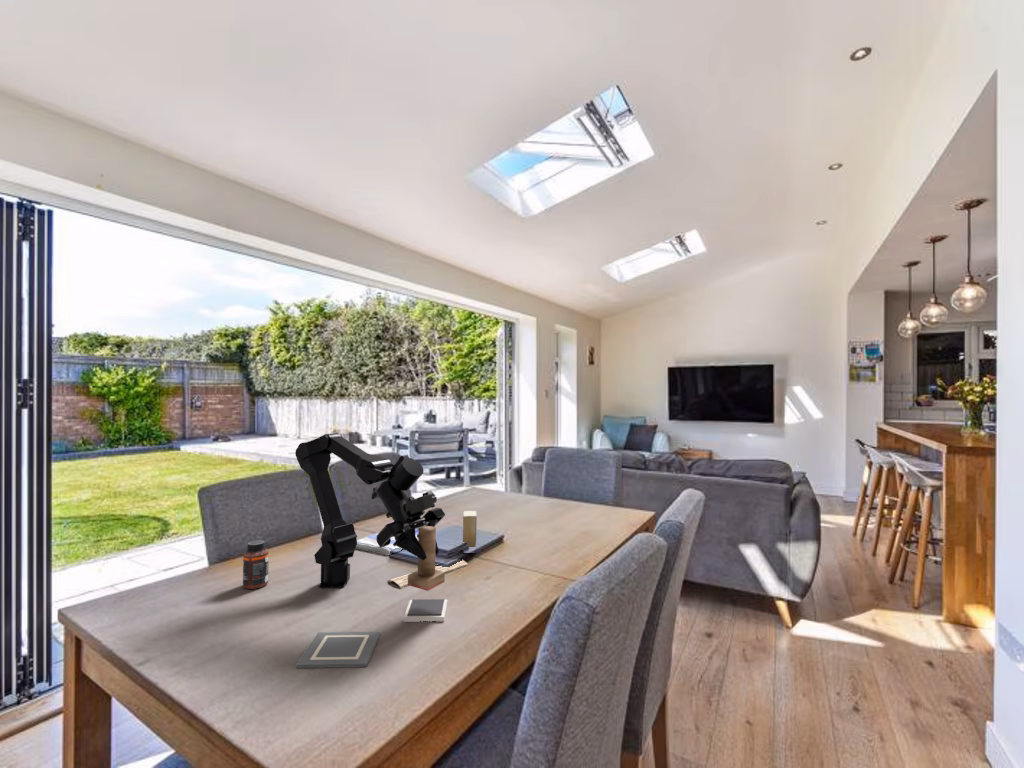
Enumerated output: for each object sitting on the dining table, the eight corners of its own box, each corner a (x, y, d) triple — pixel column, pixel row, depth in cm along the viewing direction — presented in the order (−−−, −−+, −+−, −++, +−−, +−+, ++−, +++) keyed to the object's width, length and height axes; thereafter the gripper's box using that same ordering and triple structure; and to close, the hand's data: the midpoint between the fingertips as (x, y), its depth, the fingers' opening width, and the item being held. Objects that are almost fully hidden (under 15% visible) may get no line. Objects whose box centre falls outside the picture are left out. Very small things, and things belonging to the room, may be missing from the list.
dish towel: (348, 549, 160) (348, 540, 160) (396, 530, 181) (396, 523, 181) (389, 558, 152) (389, 549, 152) (434, 538, 173) (435, 530, 173)
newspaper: (400, 591, 128) (400, 584, 128) (385, 583, 133) (385, 576, 133) (468, 567, 145) (468, 561, 145) (452, 561, 150) (452, 555, 150)
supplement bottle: (273, 583, 130) (274, 540, 131) (253, 591, 125) (253, 547, 125) (257, 579, 133) (258, 537, 133) (237, 587, 128) (238, 543, 128)
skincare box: (462, 547, 161) (463, 510, 161) (476, 547, 161) (476, 510, 161) (462, 554, 154) (462, 515, 154) (476, 554, 155) (476, 515, 155)
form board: (296, 667, 92) (296, 664, 92) (318, 635, 104) (318, 632, 104) (366, 666, 93) (366, 663, 93) (380, 634, 104) (380, 631, 104)
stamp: (407, 585, 114) (408, 529, 114) (424, 576, 119) (425, 523, 119) (427, 590, 111) (428, 534, 111) (444, 581, 116) (445, 527, 116)
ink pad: (403, 621, 110) (403, 615, 110) (410, 604, 119) (410, 598, 119) (444, 621, 111) (444, 615, 111) (447, 603, 120) (447, 597, 120)
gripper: (386, 488, 109) (424, 547, 103) (439, 475, 125) (475, 526, 119) (360, 518, 113) (395, 576, 107) (415, 502, 129) (448, 552, 123)
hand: (431, 556), depth 114 cm, fingers closed on stamp, 4 cm apart
